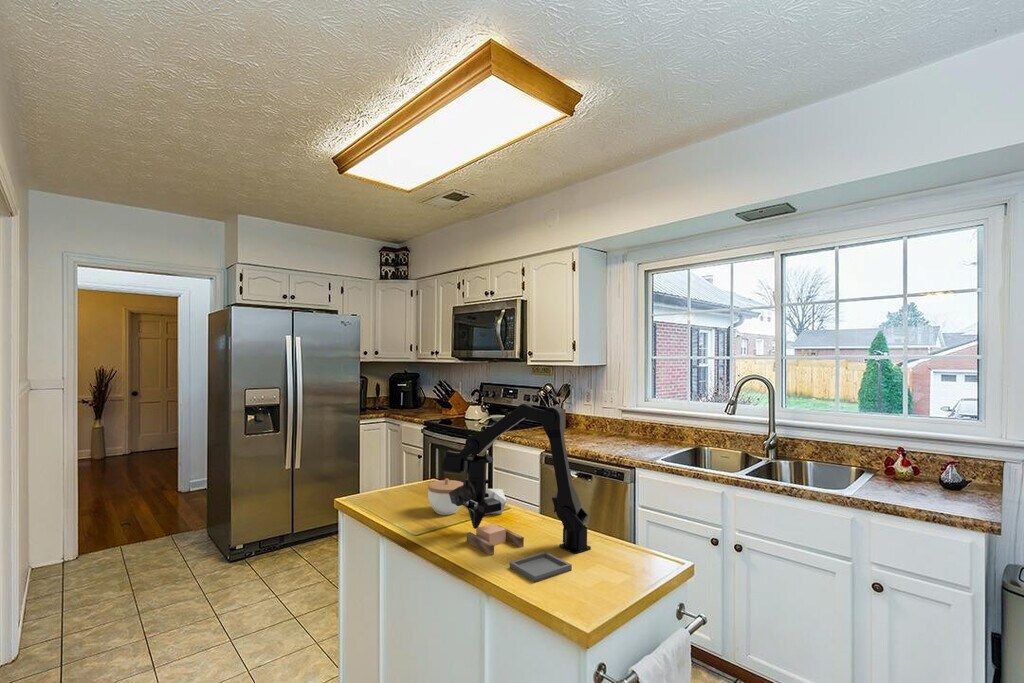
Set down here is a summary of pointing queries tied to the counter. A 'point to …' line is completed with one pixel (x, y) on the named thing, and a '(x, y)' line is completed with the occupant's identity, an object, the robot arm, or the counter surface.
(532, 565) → the tray
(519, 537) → the corridor rails
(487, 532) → the block
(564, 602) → the counter surface
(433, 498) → the lidded bowl
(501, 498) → the die
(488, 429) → the robot arm
